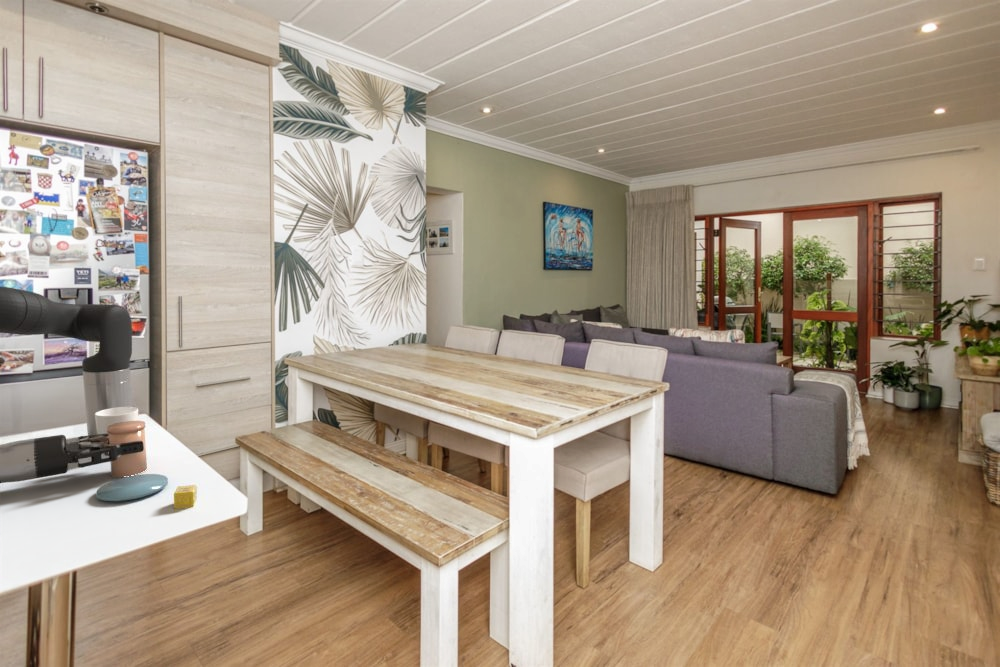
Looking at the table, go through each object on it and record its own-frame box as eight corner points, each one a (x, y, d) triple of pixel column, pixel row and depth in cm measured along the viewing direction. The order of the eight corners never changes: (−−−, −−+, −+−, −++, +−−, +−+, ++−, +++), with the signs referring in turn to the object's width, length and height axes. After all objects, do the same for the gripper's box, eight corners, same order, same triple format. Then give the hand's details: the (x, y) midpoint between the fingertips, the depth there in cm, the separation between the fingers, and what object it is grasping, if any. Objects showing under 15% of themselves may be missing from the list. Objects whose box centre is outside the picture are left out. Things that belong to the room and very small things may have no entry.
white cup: (118, 461, 111) (114, 417, 110) (88, 458, 113) (85, 414, 112) (149, 449, 119) (146, 408, 118) (121, 446, 120) (118, 405, 119)
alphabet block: (197, 499, 94) (196, 484, 93) (194, 507, 91) (193, 491, 90) (178, 502, 93) (177, 486, 92) (174, 509, 90) (173, 493, 89)
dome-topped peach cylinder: (109, 470, 106) (106, 424, 105) (146, 463, 110) (143, 419, 109) (110, 480, 101) (107, 431, 100) (149, 473, 105) (146, 426, 104)
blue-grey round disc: (96, 488, 97) (95, 482, 97) (164, 475, 104) (164, 469, 104) (97, 509, 89) (96, 503, 89) (171, 493, 96) (171, 487, 96)
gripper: (29, 450, 90) (144, 432, 101) (35, 430, 101) (138, 416, 112) (32, 490, 91) (146, 469, 102) (38, 466, 102) (140, 449, 113)
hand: (141, 441), depth 107 cm, fingers closed on dome-topped peach cylinder, 6 cm apart
